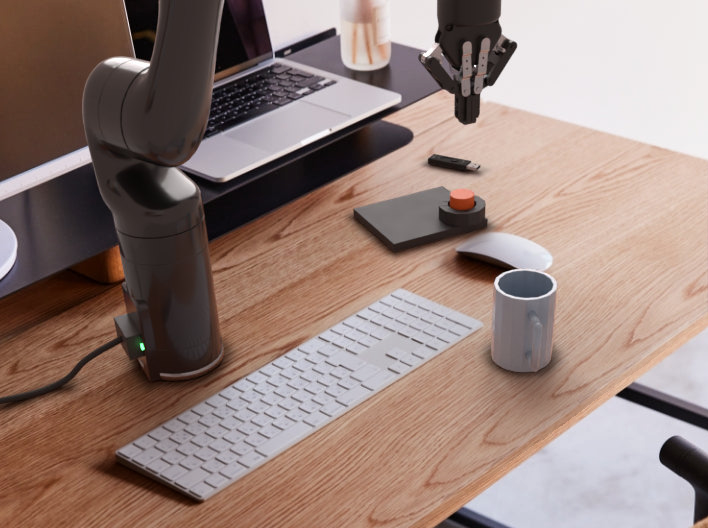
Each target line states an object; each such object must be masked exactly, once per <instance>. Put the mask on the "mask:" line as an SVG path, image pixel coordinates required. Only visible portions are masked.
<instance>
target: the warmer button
mask: <svg viewBox="0 0 708 528" xmlns="http://www.w3.org/2000/svg"><path fill="white" fill-rule="evenodd" d="M450 192H451V193H450V207H451V208H452V209H456V210H468V209H472V208H473V207H474V195H475V192H474V191H473V190H471V189H469V188H457V189H454V190H452V191H450Z"/></svg>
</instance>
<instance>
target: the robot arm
mask: <svg viewBox="0 0 708 528" xmlns="http://www.w3.org/2000/svg"><path fill="white" fill-rule="evenodd" d="M224 4H225V0H158V16H157V17H158V18H157V25H156V34H155V39H154V45H153V50H152V54H151V58H150V61H149V60H145V59H141V58H135V57H132V56H124V55H119V56H118V55H117V56H112V57H108V58H106V59H104V60H102V61H100V62H99V63H98V64H97V65H96V66H95V67H94V68H93V69H92V71H91V72H90V74H89V75H88V77H87V79H86V82H85V85H84V88H83V91H82V92H83V93H82V101H81V109H82V110H81V115H82V123H83V129H84V135H85V139H86V144H87V147H88V152H89V155H90V160H91V163H92V166H93V171H94V175H95V180H96V184H97V188H98V190H99V193H100V195H101V198H102V200H103V202H104V204H105V205H106V206H107V208H108V210H109V211H110V213H111V215H112V219H113V220H112V221H113V225H114V229H115V235H116V239H117V244H118V250H119V257H120V261H121V266H122V270H123V271H122V272H123V276H124V281H123V282H122V283H121V290H122V295H123V299H124V306H125V310H126V313H124V314H120V315H117V316H113V322H114V327H115V332H116V337H115V338H114V339H112V340H110V341H109V342H106V343H104V344H103V345H101V346H99V347H97V348H96V349H94V350H92V351H91V352H89V353H88V354H86V355H85V356H84V357H82V358H81V359H79V361H78V362H77V363H76V364H75V366H74V367H73V368H72V369H71V371H69V372H68V373H67V375H65V376H64V377H62V378H59V379H58V380H56V381H54V382H52V383H50V384H48V385H45V386H43V387H40V388H36V389H33V390H30V391H26V392H22V393H21V392H20V393H17V394H12V395H6V396H1V397H0V405H4V404H8V403H9V404H10V403H13V402H14V403H15V402H20V401H22V400H23V401H24V400H28V399H31V398H35V397H38V396H41V395H43V394H46V393H49V392H52V391H55V390H57V389H59V388H61V387H62V386H64V385H67V384H68V383H69V382H71V381H72V380H73V379H74V378H75V377H76V376H77V375H78V374H79V372H80V371H81V370H82V369H83V368H84V367H85V366H86V365H87V364H89V363H90V362H91V361H92V360H94V359H96V358H97V357H98V356H100V355H102V354H103V353H105V352H107V351H109V350H111V349H113V348H115V347H116V346H119V345H121V347H122V349H123V351H124V353H125V354H126V356H127V357H128V359H129V361H133V360H137V362H138V364H139V365H140V367H141V370H142V371H143V372H144V374H145V375H146V377H147V379H148V381H149V382H151V383H153V382H156V381H169V382H170V381H172V382H173V381H174V382H177V381H186V380H191V379H195V378H198V377H199V378H200V377H201V376H204V375H206V374H208V373H210V372H212V371H213V370H214V369H216V368H217V367H218V366H219V365H220V364H221V362H222V361H223V359H224V356H225V350H224V349H225V348H224V343H223V337H222V333H221V326H220V319H219V311H218V303H217V297H216V296H217V295H216V290H215V289H216V288H215V282H214V281H215V280H214V274H213V267H212V259H211V252H210V244H209V237H208V229H207V222H206V221H207V220H206V214H205V207H204V199H203V195H202V191H201V190H200V187H199V185H197V183H196V182H195V181H194V180H193V179H192V178H190V177H189V175H187V174H186V173H185V172H183V171H182V169H180V168H179V167H180V166H183V165H184V164H186V163H187V162H188V161H189V160H191V159H192V158H193V156H194V155H195V154H196V152H197V151H198V149H199V147H200V145H201V144H202V141H203V139H204V135H205V133H206V130H207V128H208V127H207V126H208V123H209V117H210V113H211V107H212V98H213V92H214V91H213V90H214V82H215V71H216V64H217V63H216V62H217V55H218V46H219V38H220V29H221V22H222V17H223V9H224ZM501 16H502V0H436V18H437V25H438V26H437V30H436V33H435V35H434V44H433V45H432V46H431V47H430V48H429V49H428V50H427V51H426V52H425V51H421V52H420V53H419V54H418V56H417V58H418V61H419V63H420V64H421V66H423V67H424V69H425V70H426V71H427V73H428V74H429V75H430V76H431V77H432V79H433V80H434V81H435V83H436V84H437V85H438V86H439V88H441V89H442V90H445V91H446V92H448V93H449V94H451V95H454V102H453V103H454V105H453V107H454V110H453V111H454V114H453V115H454V117H455V119H457V120H458V123H460V124H462V125H464V126H467V125H473V124H476V123H477V119H478V118H479V117H480V114H481V112H480V111H481V93H482V92H483V90H484V89H485V88H488V87H493V86H494V85H495V83H496V82H497V81H498V79H499V77H500V76H501V74H502V72H503V71H504V70H505V68H506V66H507V64H508V63H509V61H510V60H511V58H512V56H513V55H514V53H515V52H516V50H517V49H518V43H517V42H516V41H514V40H512V39H511V38H508V37H507V36H505V35H504V34H503V28H502V26H501V24H500V18H501ZM442 55H443V57H444V58H445V60H446V61H447V62H448V70H449V72H450V75H451V76H450V75H449V73H448V71H446V69H445V68H444V66H443V64H444V59H443V57H442Z"/></svg>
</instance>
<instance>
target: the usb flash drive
mask: <svg viewBox="0 0 708 528" xmlns="http://www.w3.org/2000/svg"><path fill="white" fill-rule="evenodd" d="M427 164H428V165H433V166H438V167H443V168H448V169H453V170H458V171H463V172H464V171H465V172H466V171H468V170H471V171H475V172H477V171H478V170H479V169H480V168H481V166H482V165H481V164H480V163H475V162H472V161H471V160H468V159H464V158H458V157H454V156H453V157H452V156H448V155H443V154H437V153H433V154H432V155H430V156H429V157H428V158H427Z"/></svg>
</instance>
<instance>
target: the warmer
mask: <svg viewBox="0 0 708 528" xmlns="http://www.w3.org/2000/svg"><path fill="white" fill-rule="evenodd" d="M451 192H452V191H450V190H449V189H448V188H446V187H445V186H443V185H441V186H437V187H433V188H429V189H424V190H421V191H417V192H413V193H409V194H405V195H401V196H397V197H394V198H389V199H386V200H382V201H377V202H374V203H370V204H366V205H361V206H358V207H355V208H352V213H353V217H354V219H356V220H357V221H358V222H359V223H360V224H361V225H363V226H364V227H365V228H366V229H367V230H368V231H370V233H372V234H373V235H374V236H375V237H376V238H377V239H379V240H380V242H382V243H383V244H384V245H385V246H387V248H388V249H390V250H391V251H392V252H393V253H396V252H401V251H404V250H408V249H412V248H416V247H419V246H423V245H425V244H429V243H434V242H437V241H441V240H445V239H448V238H452V237H456V236H459V235H463V234H466V233H470V232H474V231H478V230H481V229H485V228H488V222H489V220H488V219H489V218H487V217H486V200H484V199H483V198H482V197H481V196H479V195H476V194H474V207H473V208H472V209H468V210H456V209H452V208H451V207H450V193H451Z"/></svg>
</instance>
